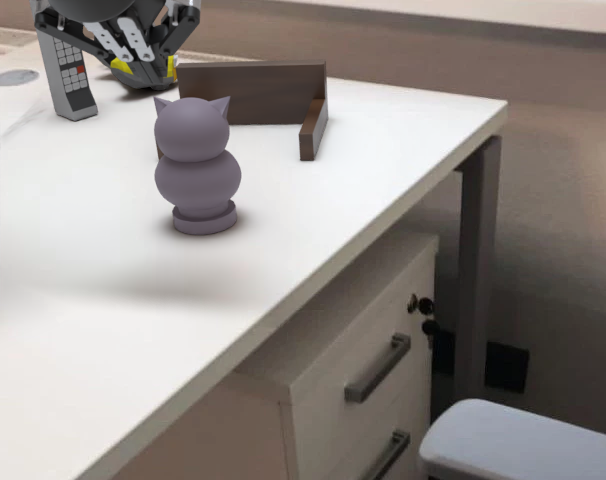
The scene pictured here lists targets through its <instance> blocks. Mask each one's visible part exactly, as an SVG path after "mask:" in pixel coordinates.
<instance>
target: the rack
mask: <svg viewBox="0 0 606 480" xmlns="http://www.w3.org/2000/svg"><path fill="white" fill-rule="evenodd" d="M176 66H177V67H176V75H177V80H176V81H177V88H178V95H179V99H182V98H200V99H204V100H206V101H213V100H217V99H221V98H224V97H228V96H230V101H229V106H228V111H227V117H226V119H227V121H228V124H229V126H249V125H250V124H260V125H301V127H300V129H299V132H298V146H299V147H298V148H299V161H314V160H315V159H316V156H317V152H318V150H319V146H320V144H321V141H322V137H323V135H324V132H325V129H326V126H327V124H328V120H329V101H328V78H327V59H326V58H325V59H324V58H322V59H293V60H292V59H283V60H280V59H279V60H246V61H243V60H242V61H211V62H210V61H208V62H207V61H206V62H179V63H178V64H176ZM247 124H249V125H247ZM250 126H251V125H250ZM154 140H155V146H156V152H157V157H158V162H159V161H160V159H161V158H162V156H163V155H164V153H163V152H162V151H161V150H160V148H159V146H158V144H157V142H156V139H155V138H154Z"/></svg>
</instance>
